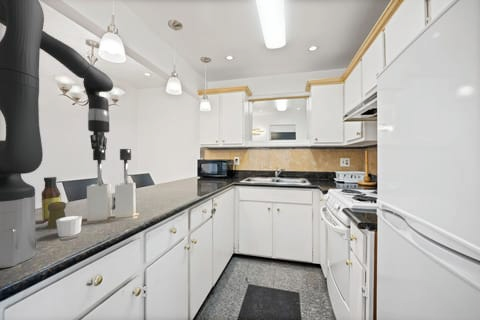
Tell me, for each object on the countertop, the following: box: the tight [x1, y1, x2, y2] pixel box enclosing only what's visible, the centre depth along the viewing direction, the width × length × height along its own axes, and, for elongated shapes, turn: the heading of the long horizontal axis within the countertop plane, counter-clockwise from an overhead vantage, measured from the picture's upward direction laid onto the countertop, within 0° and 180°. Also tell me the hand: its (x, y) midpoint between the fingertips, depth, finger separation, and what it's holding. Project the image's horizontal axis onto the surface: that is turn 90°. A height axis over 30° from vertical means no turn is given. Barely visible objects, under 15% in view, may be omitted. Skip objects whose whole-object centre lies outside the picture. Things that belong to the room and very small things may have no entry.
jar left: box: [86, 183, 112, 222], centre depth 83 cm, size 7×7×15 cm
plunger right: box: [119, 148, 132, 185], centre depth 86 cm, size 5×5×20 cm
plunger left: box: [92, 149, 107, 186], centre depth 83 cm, size 5×5×20 cm
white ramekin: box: [56, 215, 83, 242], centre depth 67 cm, size 7×7×7 cm
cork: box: [46, 201, 67, 230], centre depth 74 cm, size 6×6×11 cm
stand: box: [81, 211, 140, 225], centre depth 85 cm, size 10×20×2 cm, turn 112°
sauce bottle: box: [41, 176, 62, 223], centre depth 85 cm, size 7×6×20 cm
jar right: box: [114, 182, 137, 219], centre depth 86 cm, size 7×7×15 cm
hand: (99, 159), depth 83 cm, fingers closed on plunger left, 4 cm apart
